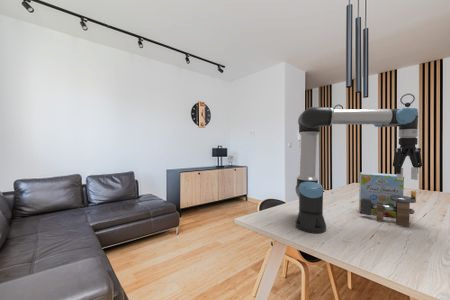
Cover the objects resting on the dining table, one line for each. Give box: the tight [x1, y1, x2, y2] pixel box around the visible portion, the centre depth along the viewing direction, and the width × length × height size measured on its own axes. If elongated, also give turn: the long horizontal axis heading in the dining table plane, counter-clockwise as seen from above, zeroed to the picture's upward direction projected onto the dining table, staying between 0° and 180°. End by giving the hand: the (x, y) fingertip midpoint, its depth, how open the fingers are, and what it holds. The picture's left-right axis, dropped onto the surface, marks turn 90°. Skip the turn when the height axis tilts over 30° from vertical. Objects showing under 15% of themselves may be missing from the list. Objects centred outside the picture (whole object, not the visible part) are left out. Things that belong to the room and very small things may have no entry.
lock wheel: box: [390, 190, 417, 204], centre depth 114 cm, size 11×11×6 cm
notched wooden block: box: [376, 201, 411, 228], centre depth 117 cm, size 9×14×13 cm, turn 53°
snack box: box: [358, 171, 405, 219], centre depth 129 cm, size 22×9×26 cm, turn 62°
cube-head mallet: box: [361, 198, 415, 216], centre depth 118 cm, size 4×24×9 cm, turn 54°
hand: (407, 179), depth 110 cm, fingers open, 8 cm apart
